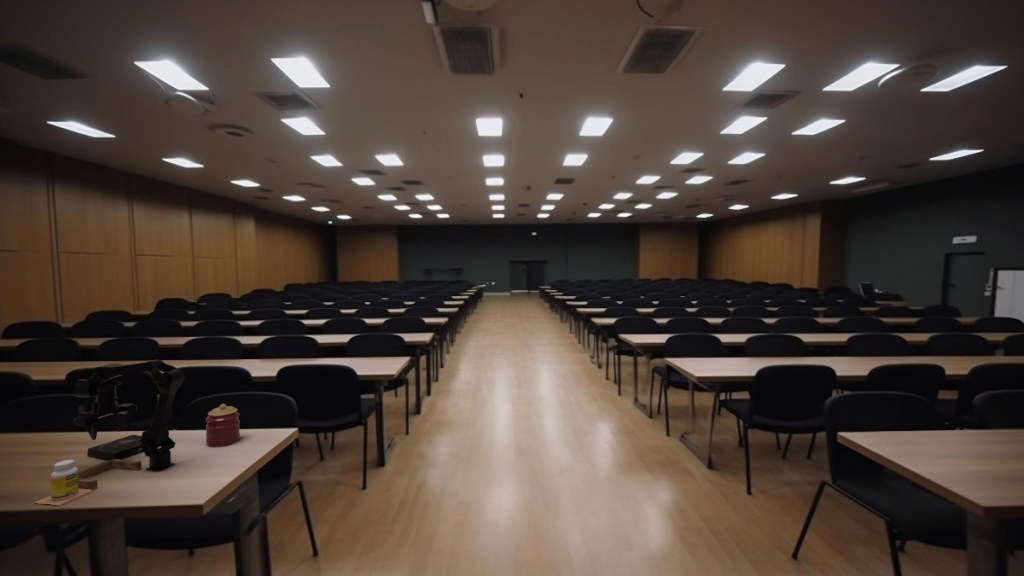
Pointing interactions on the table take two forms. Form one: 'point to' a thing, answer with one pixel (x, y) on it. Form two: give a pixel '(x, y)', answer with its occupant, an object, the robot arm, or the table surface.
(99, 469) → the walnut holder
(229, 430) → the canister
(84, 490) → the terracotta mat
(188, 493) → the table surface
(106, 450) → the portable cd player
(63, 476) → the pill bottle
